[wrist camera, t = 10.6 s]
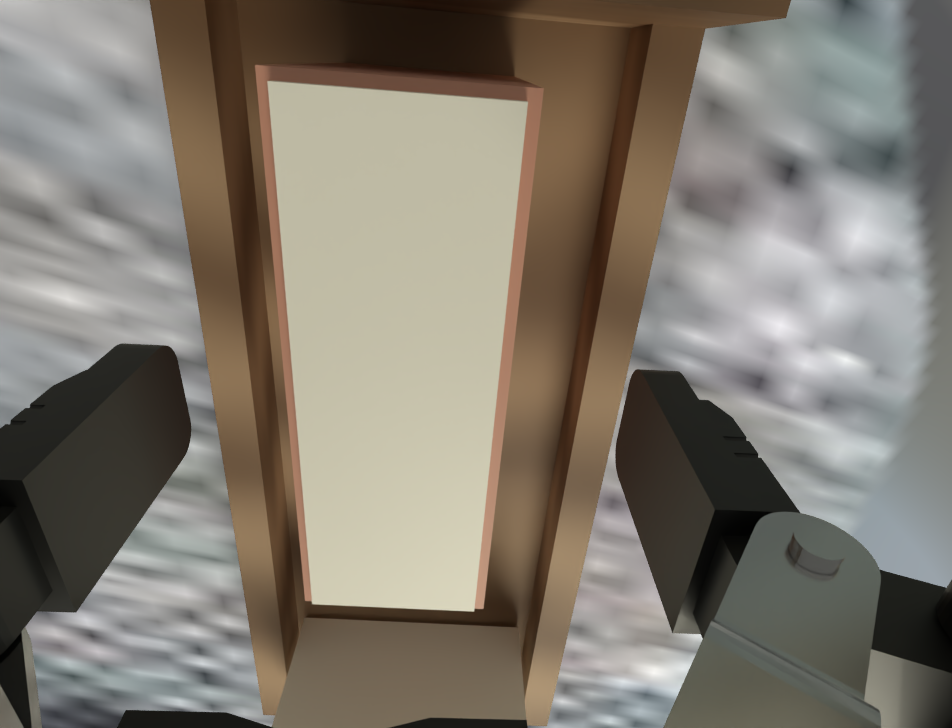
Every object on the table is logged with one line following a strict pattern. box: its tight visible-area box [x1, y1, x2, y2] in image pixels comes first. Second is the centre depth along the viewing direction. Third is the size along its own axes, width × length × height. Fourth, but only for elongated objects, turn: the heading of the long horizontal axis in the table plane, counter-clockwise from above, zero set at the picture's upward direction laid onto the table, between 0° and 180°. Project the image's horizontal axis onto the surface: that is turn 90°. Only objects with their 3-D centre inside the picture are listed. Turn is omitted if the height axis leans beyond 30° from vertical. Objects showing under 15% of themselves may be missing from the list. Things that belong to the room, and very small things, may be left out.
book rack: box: [150, 0, 791, 726], centre depth 18 cm, size 28×12×7 cm, turn 176°
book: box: [255, 63, 544, 612], centre depth 15 cm, size 12×4×7 cm, turn 176°
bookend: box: [272, 618, 526, 728], centre depth 23 cm, size 2×9×6 cm, turn 86°
